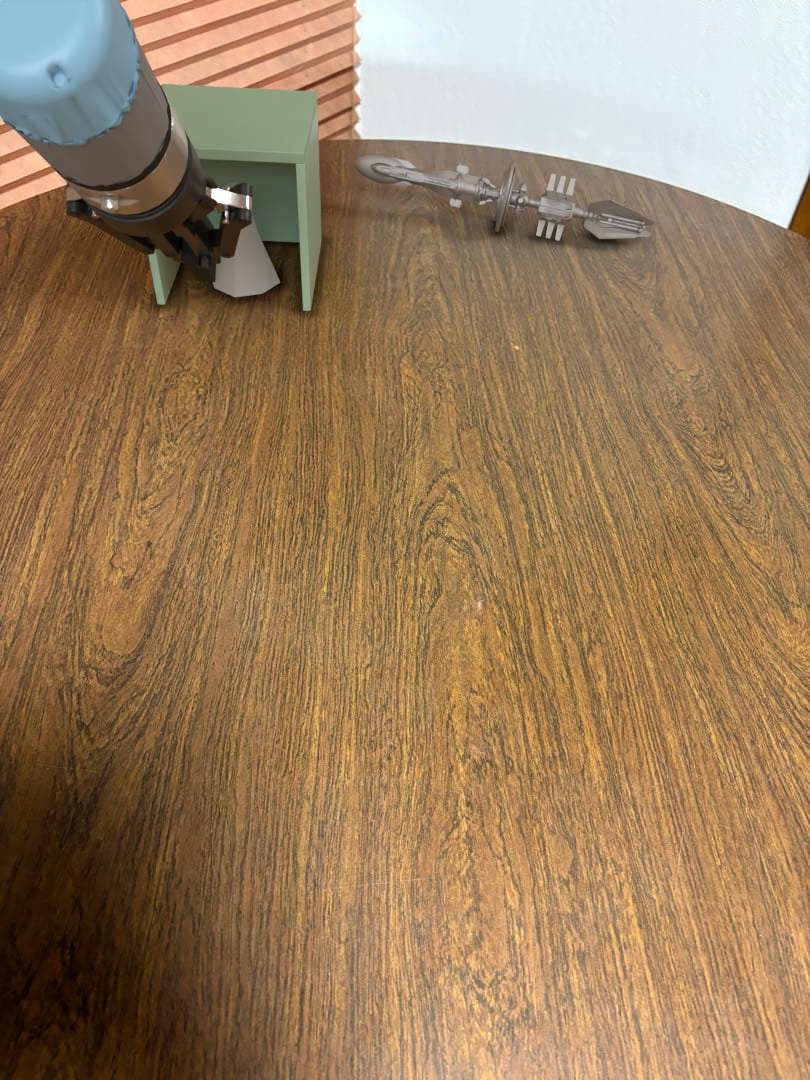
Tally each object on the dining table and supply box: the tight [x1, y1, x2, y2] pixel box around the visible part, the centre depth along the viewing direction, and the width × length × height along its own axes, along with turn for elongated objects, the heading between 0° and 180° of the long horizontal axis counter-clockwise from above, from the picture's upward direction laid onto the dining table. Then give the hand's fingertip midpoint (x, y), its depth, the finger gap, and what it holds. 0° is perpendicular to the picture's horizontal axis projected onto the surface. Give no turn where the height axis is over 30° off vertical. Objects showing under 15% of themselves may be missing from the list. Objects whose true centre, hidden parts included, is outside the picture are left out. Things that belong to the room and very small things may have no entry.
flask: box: [212, 181, 281, 298], centre depth 88 cm, size 7×7×10 cm
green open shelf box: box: [147, 83, 323, 312], centre depth 87 cm, size 15×16×16 cm
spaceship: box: [354, 153, 655, 242], centre depth 99 cm, size 8×35×8 cm
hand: (207, 266), depth 75 cm, fingers closed
